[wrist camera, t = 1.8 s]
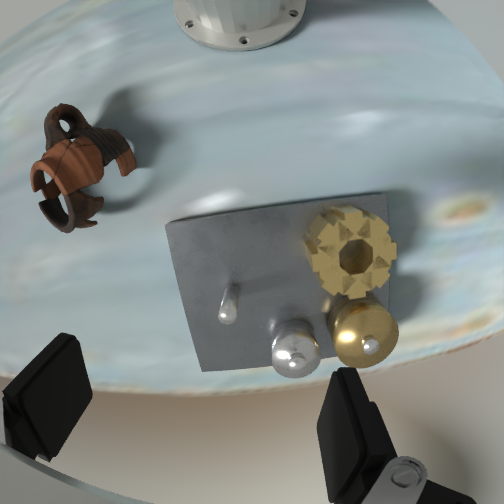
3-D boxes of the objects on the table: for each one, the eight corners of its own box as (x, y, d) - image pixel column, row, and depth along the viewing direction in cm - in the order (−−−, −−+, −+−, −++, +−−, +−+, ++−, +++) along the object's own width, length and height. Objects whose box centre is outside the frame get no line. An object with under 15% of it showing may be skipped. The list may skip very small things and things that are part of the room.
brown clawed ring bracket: (156, 192, 28) (95, 239, 22) (103, 204, 32) (52, 243, 26) (112, 78, 22) (36, 103, 16) (65, 112, 26) (5, 141, 20)
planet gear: (376, 201, 25) (395, 207, 21) (379, 274, 27) (396, 291, 23) (300, 210, 26) (307, 218, 22) (308, 286, 28) (316, 304, 24)
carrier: (380, 193, 26) (411, 201, 20) (381, 339, 31) (402, 373, 24) (169, 222, 28) (144, 238, 22) (204, 363, 32) (193, 402, 26)
